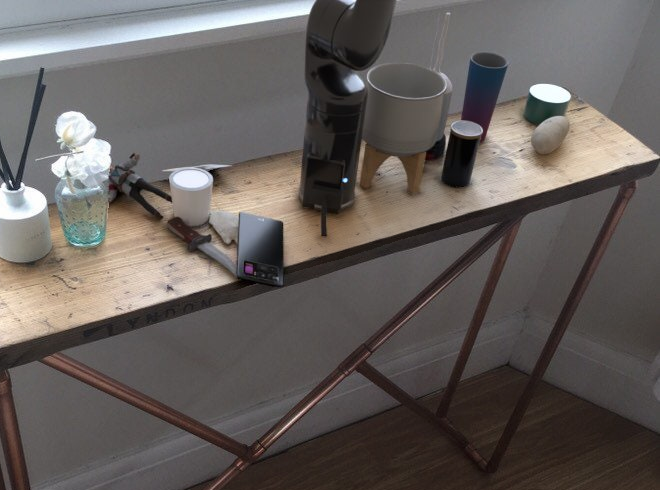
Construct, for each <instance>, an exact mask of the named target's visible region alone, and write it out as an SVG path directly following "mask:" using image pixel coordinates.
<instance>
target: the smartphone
mask: <svg viewBox="0 0 660 490" xmlns="http://www.w3.org/2000/svg"><path fill="white" fill-rule="evenodd" d="M238 216H239V222H238V245H237V244H236V245H237V246H236V247H237V248H236V249H237V250H236V267H237V268H236V276H235V277H236V279H237V280H238V281H244V282H248V283H253V284H259V285H263V286H268V287H273V288H283V287H284V286H285V260H284V259H285V258H284V257H285V256H284V255H285V254H284V251H285V250H284V239H285V238H284V222H283V221H282V220H279V219H275V218H271V217H266V216H261V215H257V214H253V213H248V212H244V211H240V212H238Z"/></svg>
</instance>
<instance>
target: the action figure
mask: <svg viewBox="0 0 660 490" xmlns="http://www.w3.org/2000/svg"><path fill="white" fill-rule="evenodd" d="M128 158H129V160H128V161H124V162H122V163H121V162H119V164H115V166H113V165H112V164H111V166H110V172H109V173H108V174H109V175H108V177H109V178H108V192H109V193H108V196H107V197H108V202H107V203H112V202H113V201H114V199H115V198H116V197H117V193H119V192H120V193H124V194H125V195H126V196H127V197H129V198H130V199H132V200H134V201H135V202H137V203H138V204H139V205H140V206H141V207H142V208H143V209H145V210H146V211H147V212H148V213H149V214H151V215H152V216H154V218H155V219H157V220H159V221H162V220H163V219H164V216H163V215H162V214H161V212H160V211H158V209H156V208H155V207H154V206H153V205H152V204H150V203H149V202H148V201H147V200H146V198H145V197H144V196H143V195H142V194H141V192H142V191H146V192H150V193H151V194H154V195H156V196H157V197H160V198H161V199H163V200H165V201H166V202H170V204H172V196H171V194H168V193H167V192H165V191H164V190H162V189H160V188H159V187H156V186H154V185H153V184H151V183H150V182H148V181H147V180H145V179H144V178H143V177H141V176H139V175H138V174H136V171H135V170H134V169H133V168H134V167H137V165H138V164H139V162H140V160H141V155H140V154H138V153H137V154H136V153H135V152H133V153H132V154H131V155H130V156H129V157H128Z"/></svg>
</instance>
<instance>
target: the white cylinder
mask: <svg viewBox="0 0 660 490" xmlns="http://www.w3.org/2000/svg"><path fill="white" fill-rule="evenodd" d="M181 168H182V167H181ZM168 181H169V189H170V196H172V203H171V204H172V211H173V218H174V217H179V218H181V219H182V221H183V222H184V223H185V224H186V225H188V226H190V227H198V226H202V225H204V224H205V223H207V222H208V221H209V218H210V214H209V213H210V212H211V203H212V195H213V185H214V177H213V175H212V174H211V173H210V172H209V171H207V170H206V169H204V170H203V169H199V168H182V169H178V170H176V171H172V172H171V173H170V175H169V176H168Z"/></svg>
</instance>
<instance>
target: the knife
mask: <svg viewBox="0 0 660 490" xmlns="http://www.w3.org/2000/svg"><path fill="white" fill-rule="evenodd" d="M167 229H168V230H169V231H171V232H172V233H173V234H174V235H176V236H177V237H179V238H180V239H182V240H183V241H184V242H186V243H188V244H187V245H186V250H187V251H188V252H194V251H196V250H198V249H199V250H200V251H201V252H203V253H204V254H206V255H207V256H208V257H210V258H211V259H212V260H214V261H216V262H217V263H218V264H221V265H222V266H223V267H225V268H226V269H227V270H228V271H229V272H230V273H232V274H233V276H235V277H236V268H237V264H235V263H234V261H233V260H232V259H231V258H230V257H229V256H227V254H225V253H224V252H222V251H221V250H220V249H218V248H217V247H216V246H214V245H213V244H211V243H210V242H212V239H213V235H212V234H211V233H209V234H207V235H203V234H200V233H199V231H198V230H195V229H193V228H192V226H188V225H186V224H185V223H184V222H183V221H182V219H181V218H179V217H174V216H173V217H171V218H170V219H168V220H167Z"/></svg>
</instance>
